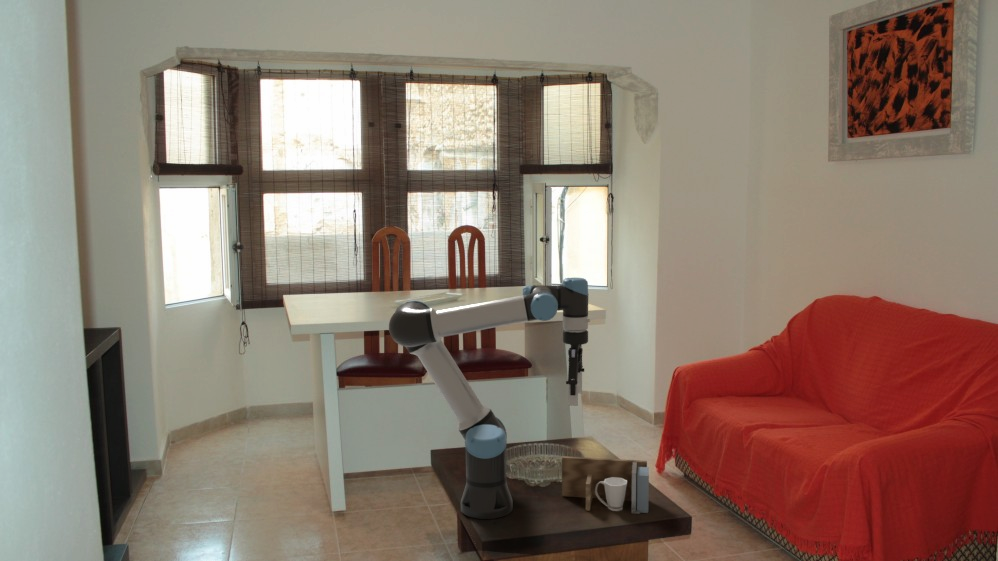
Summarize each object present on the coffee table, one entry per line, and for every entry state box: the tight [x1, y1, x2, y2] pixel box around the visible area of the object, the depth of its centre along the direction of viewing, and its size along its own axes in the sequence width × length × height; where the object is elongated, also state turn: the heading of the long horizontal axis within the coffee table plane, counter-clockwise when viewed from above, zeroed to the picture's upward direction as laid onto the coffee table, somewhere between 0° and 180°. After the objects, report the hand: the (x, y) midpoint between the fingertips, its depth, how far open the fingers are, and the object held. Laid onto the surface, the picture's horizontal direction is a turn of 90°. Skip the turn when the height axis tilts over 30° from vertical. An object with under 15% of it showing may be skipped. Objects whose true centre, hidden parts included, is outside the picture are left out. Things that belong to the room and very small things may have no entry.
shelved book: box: [637, 466, 650, 514], centre depth 239 cm, size 3×7×11 cm, turn 169°
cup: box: [595, 477, 627, 512], centre depth 240 cm, size 7×10×8 cm
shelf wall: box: [561, 455, 648, 501], centre depth 246 cm, size 25×1×12 cm, turn 79°
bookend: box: [630, 462, 641, 515], centre depth 239 cm, size 2×9×12 cm, turn 169°
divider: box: [585, 474, 593, 511], centre depth 241 cm, size 1×8×8 cm, turn 169°
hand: (575, 399), depth 249 cm, fingers open, 13 cm apart
